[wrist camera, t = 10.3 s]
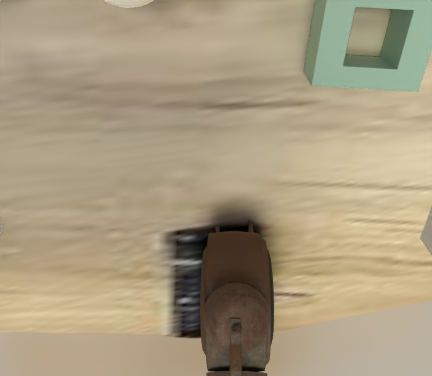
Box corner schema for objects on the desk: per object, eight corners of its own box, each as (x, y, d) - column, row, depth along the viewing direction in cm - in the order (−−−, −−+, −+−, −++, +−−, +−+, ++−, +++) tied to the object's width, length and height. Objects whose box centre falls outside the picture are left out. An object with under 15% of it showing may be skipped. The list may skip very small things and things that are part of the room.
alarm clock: (265, 291, 53) (281, 457, 35) (211, 291, 53) (200, 455, 36) (269, 199, 45) (292, 353, 28) (205, 199, 45) (189, 352, 28)
